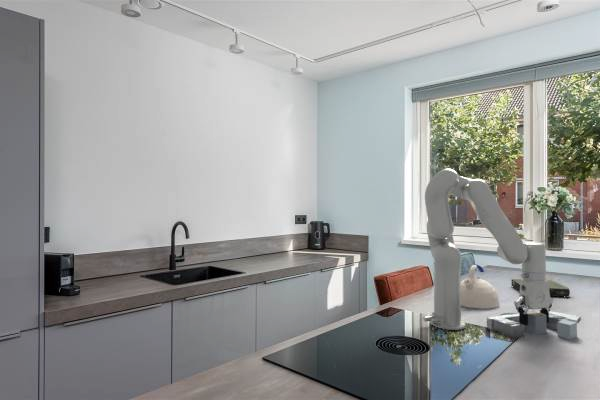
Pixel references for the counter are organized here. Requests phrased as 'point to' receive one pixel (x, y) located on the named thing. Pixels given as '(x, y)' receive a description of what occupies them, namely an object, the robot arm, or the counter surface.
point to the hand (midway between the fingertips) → (534, 323)
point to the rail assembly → (517, 324)
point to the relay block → (567, 329)
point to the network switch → (554, 287)
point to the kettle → (478, 292)
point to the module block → (536, 323)
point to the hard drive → (568, 316)
